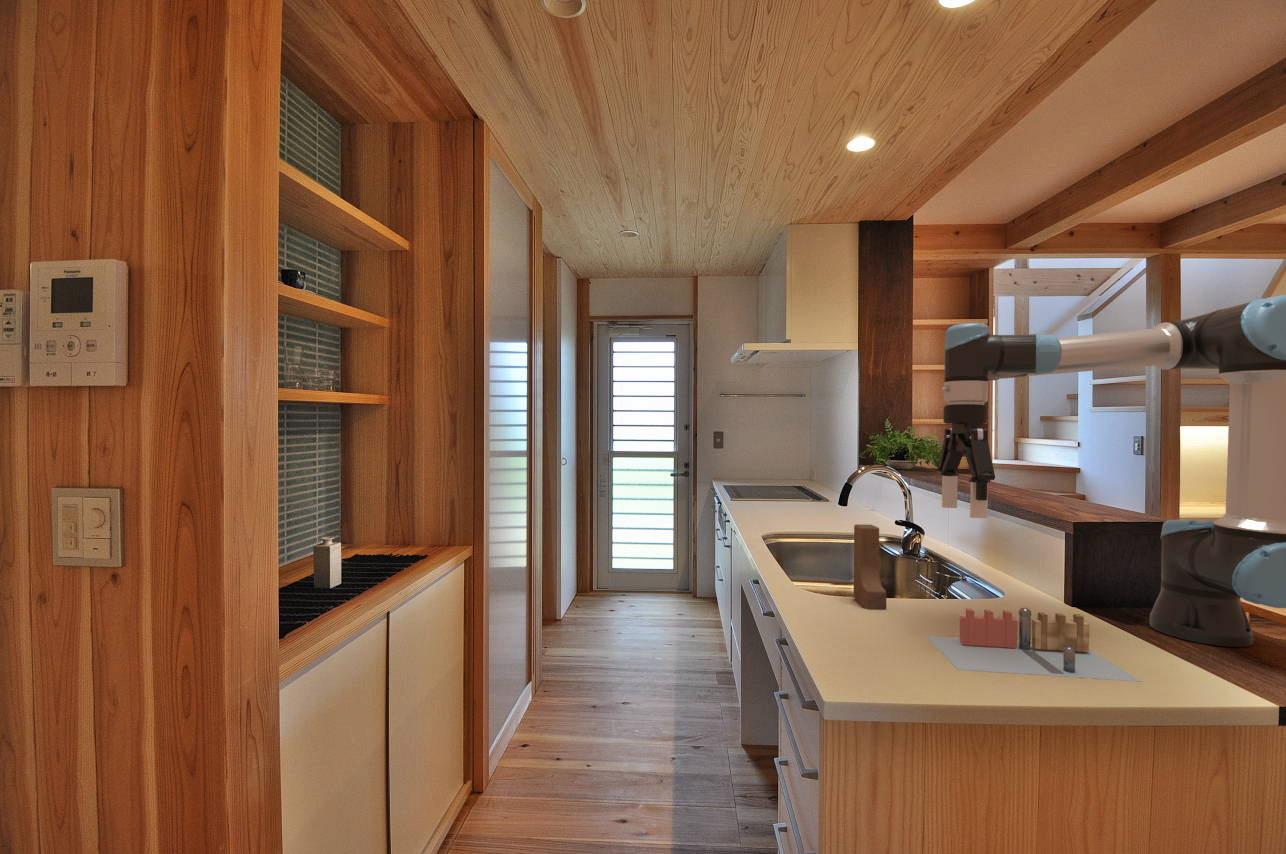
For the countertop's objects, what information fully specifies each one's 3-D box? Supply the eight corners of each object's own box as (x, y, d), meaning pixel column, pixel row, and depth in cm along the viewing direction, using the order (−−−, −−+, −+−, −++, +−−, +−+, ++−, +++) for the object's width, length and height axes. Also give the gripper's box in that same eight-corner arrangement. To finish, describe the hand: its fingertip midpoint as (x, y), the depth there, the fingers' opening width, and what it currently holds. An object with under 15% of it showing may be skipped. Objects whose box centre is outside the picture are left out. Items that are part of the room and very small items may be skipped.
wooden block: (887, 611, 130) (887, 531, 130) (866, 611, 130) (867, 530, 130) (871, 599, 139) (872, 524, 139) (852, 599, 139) (853, 524, 139)
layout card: (1082, 646, 110) (1082, 644, 110) (1142, 684, 94) (1142, 681, 94) (925, 637, 114) (925, 635, 114) (957, 671, 98) (957, 669, 98)
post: (1027, 647, 108) (1028, 606, 108) (1033, 651, 107) (1033, 609, 107) (1016, 646, 109) (1016, 605, 109) (1021, 650, 107) (1021, 609, 107)
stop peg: (1071, 669, 99) (1071, 645, 99) (1077, 673, 97) (1077, 649, 97) (1061, 668, 99) (1061, 645, 99) (1066, 672, 97) (1067, 648, 97)
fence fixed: (1084, 649, 107) (1085, 614, 107) (1089, 652, 105) (1089, 617, 105) (1031, 646, 108) (1031, 611, 108) (1035, 649, 107) (1035, 614, 107)
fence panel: (1014, 645, 109) (1014, 610, 109) (1017, 648, 107) (1018, 613, 107) (959, 641, 110) (960, 608, 110) (962, 644, 109) (963, 610, 109)
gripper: (922, 405, 127) (920, 503, 127) (972, 400, 102) (970, 521, 102) (959, 406, 126) (957, 504, 126) (1018, 401, 101) (1016, 523, 101)
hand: (963, 512), depth 114 cm, fingers open, 13 cm apart
